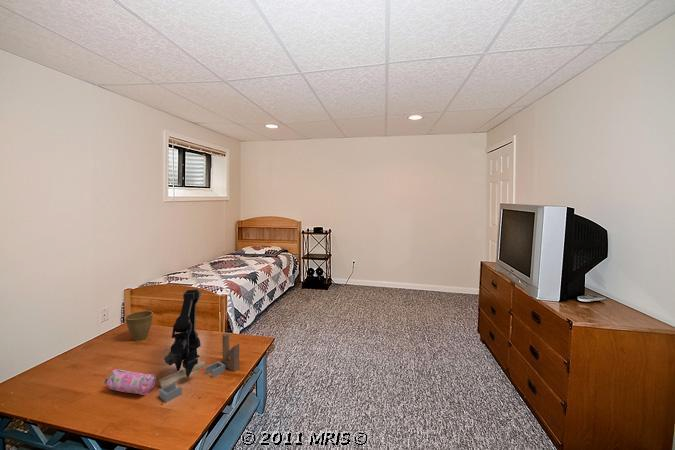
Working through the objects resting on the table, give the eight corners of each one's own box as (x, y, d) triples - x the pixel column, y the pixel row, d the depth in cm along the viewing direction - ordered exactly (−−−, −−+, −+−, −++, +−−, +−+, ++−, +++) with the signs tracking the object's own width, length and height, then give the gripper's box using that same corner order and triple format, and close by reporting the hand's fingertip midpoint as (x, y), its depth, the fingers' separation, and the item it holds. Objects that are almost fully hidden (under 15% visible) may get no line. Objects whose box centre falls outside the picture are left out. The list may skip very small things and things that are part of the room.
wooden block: (234, 371, 152) (234, 339, 151) (220, 365, 157) (220, 334, 156) (239, 368, 155) (239, 336, 154) (226, 362, 160) (226, 331, 159)
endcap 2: (225, 371, 152) (225, 365, 152) (213, 377, 146) (213, 371, 146) (218, 367, 156) (218, 361, 156) (206, 373, 150) (206, 366, 150)
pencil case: (103, 392, 133) (103, 374, 133) (122, 381, 142) (122, 363, 142) (140, 400, 129) (140, 381, 128) (157, 388, 137) (157, 370, 137)
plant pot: (141, 332, 197) (141, 309, 196) (158, 335, 193) (158, 312, 192) (120, 341, 183) (119, 317, 182) (138, 345, 179) (137, 320, 178)
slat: (159, 385, 140) (158, 380, 139) (201, 365, 158) (201, 360, 157) (161, 388, 138) (161, 382, 138) (204, 367, 156) (204, 362, 156)
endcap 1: (159, 396, 131) (159, 389, 131) (174, 388, 137) (174, 382, 137) (166, 402, 127) (165, 394, 127) (181, 394, 133) (181, 386, 133)
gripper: (157, 345, 145) (158, 374, 146) (175, 356, 135) (176, 388, 136) (179, 337, 154) (180, 365, 155) (198, 347, 144) (198, 376, 145)
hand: (183, 373), depth 148 cm, fingers open, 9 cm apart
